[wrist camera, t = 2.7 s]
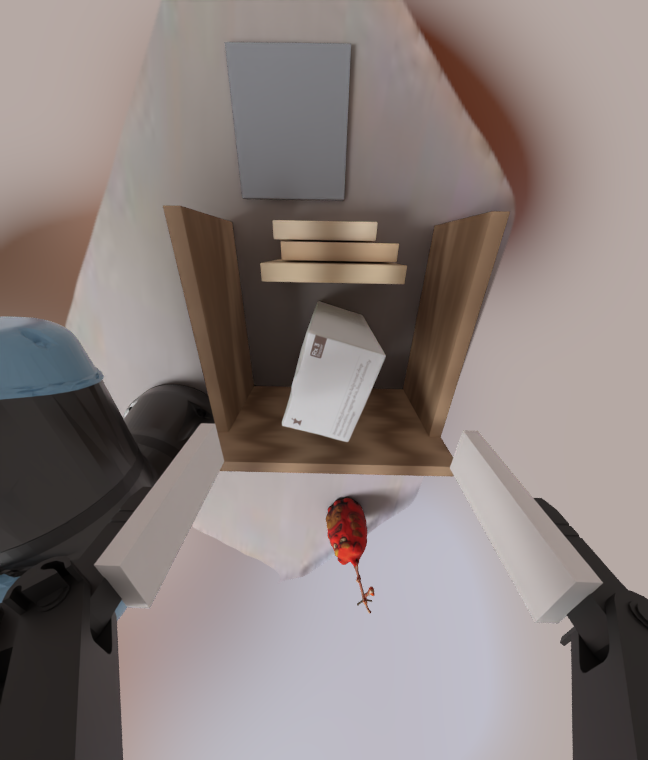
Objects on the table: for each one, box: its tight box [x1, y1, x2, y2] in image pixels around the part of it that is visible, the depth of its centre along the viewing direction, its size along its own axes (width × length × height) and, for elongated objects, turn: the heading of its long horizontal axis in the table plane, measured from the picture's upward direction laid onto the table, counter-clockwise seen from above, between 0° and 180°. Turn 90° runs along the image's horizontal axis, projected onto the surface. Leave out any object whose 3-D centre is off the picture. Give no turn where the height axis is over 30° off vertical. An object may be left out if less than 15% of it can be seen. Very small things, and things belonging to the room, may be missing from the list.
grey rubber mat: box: [225, 42, 351, 200], centre depth 22 cm, size 10×10×1 cm
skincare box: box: [282, 301, 386, 442], centre depth 24 cm, size 8×6×15 cm
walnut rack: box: [163, 206, 510, 476], centre depth 24 cm, size 23×21×14 cm
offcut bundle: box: [260, 220, 407, 284], centre depth 23 cm, size 12×5×8 cm, turn 89°
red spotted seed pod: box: [326, 497, 374, 613], centre depth 40 cm, size 8×7×15 cm
